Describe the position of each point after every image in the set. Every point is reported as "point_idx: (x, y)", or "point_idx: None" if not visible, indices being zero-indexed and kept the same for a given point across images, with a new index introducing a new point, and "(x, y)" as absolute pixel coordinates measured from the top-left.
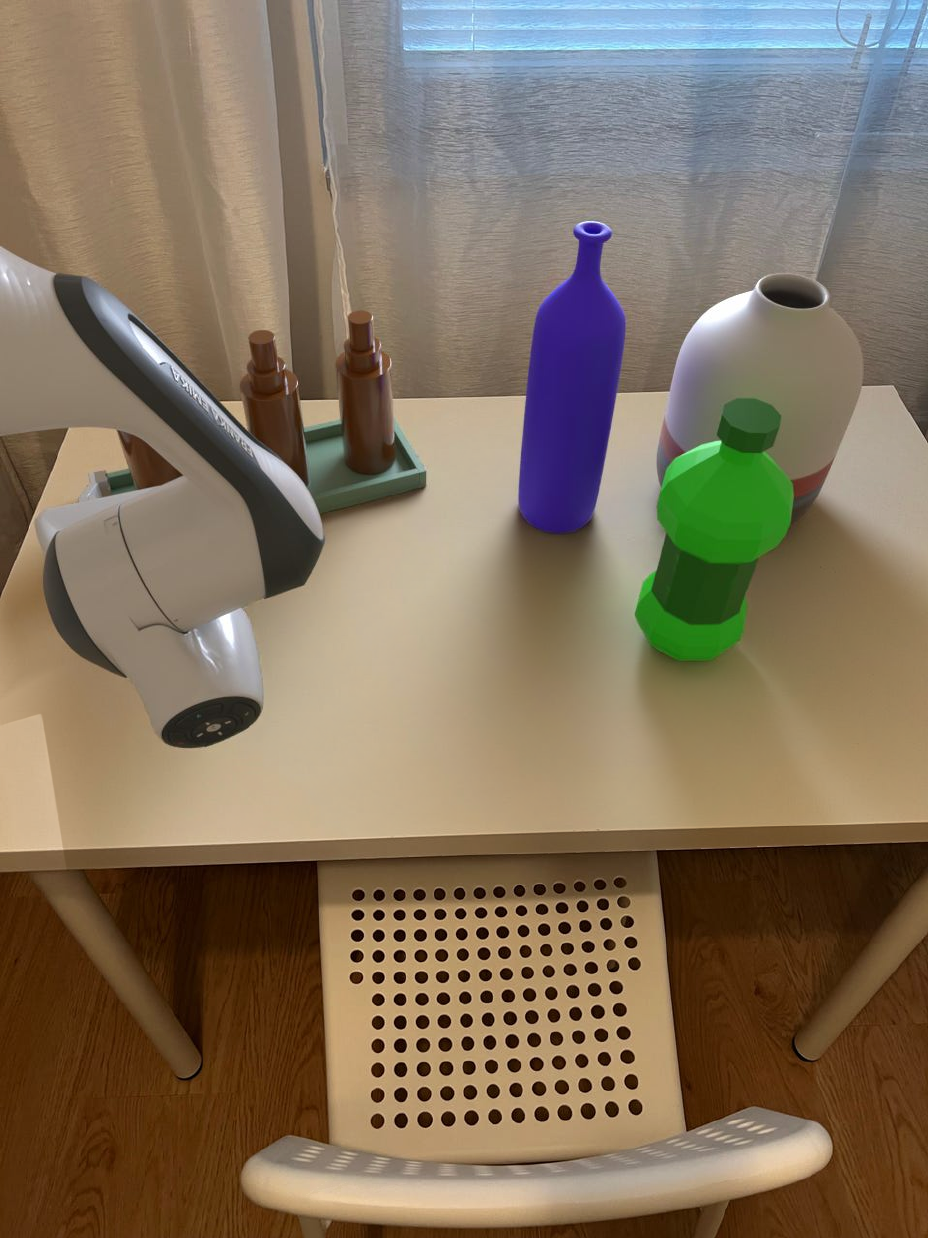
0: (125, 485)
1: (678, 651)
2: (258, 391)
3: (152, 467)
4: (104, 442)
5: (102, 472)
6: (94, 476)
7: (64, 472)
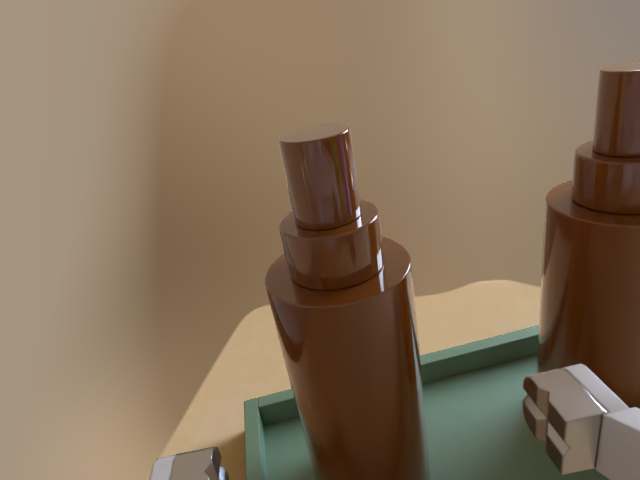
0: (289, 419)
1: None
2: (617, 210)
3: (353, 408)
4: (266, 341)
5: (200, 458)
6: (168, 477)
7: (202, 389)
